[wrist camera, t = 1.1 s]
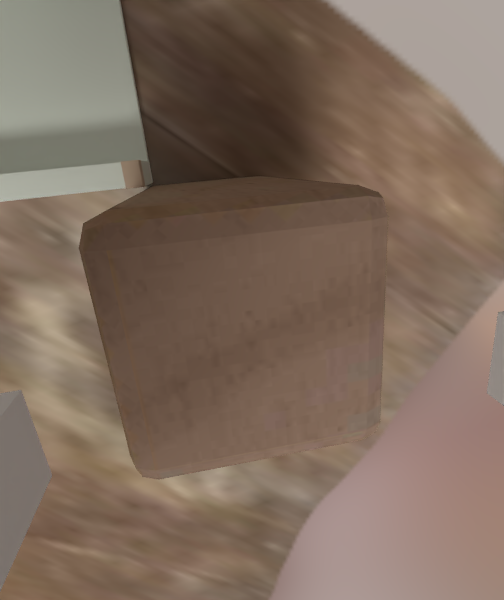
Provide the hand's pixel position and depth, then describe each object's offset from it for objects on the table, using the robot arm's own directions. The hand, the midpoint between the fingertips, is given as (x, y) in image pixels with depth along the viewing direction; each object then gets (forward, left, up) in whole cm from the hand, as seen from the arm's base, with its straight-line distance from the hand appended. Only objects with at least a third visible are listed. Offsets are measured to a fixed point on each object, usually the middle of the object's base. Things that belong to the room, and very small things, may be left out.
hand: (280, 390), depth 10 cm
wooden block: (0, 0, -23) cm, 23 cm away
